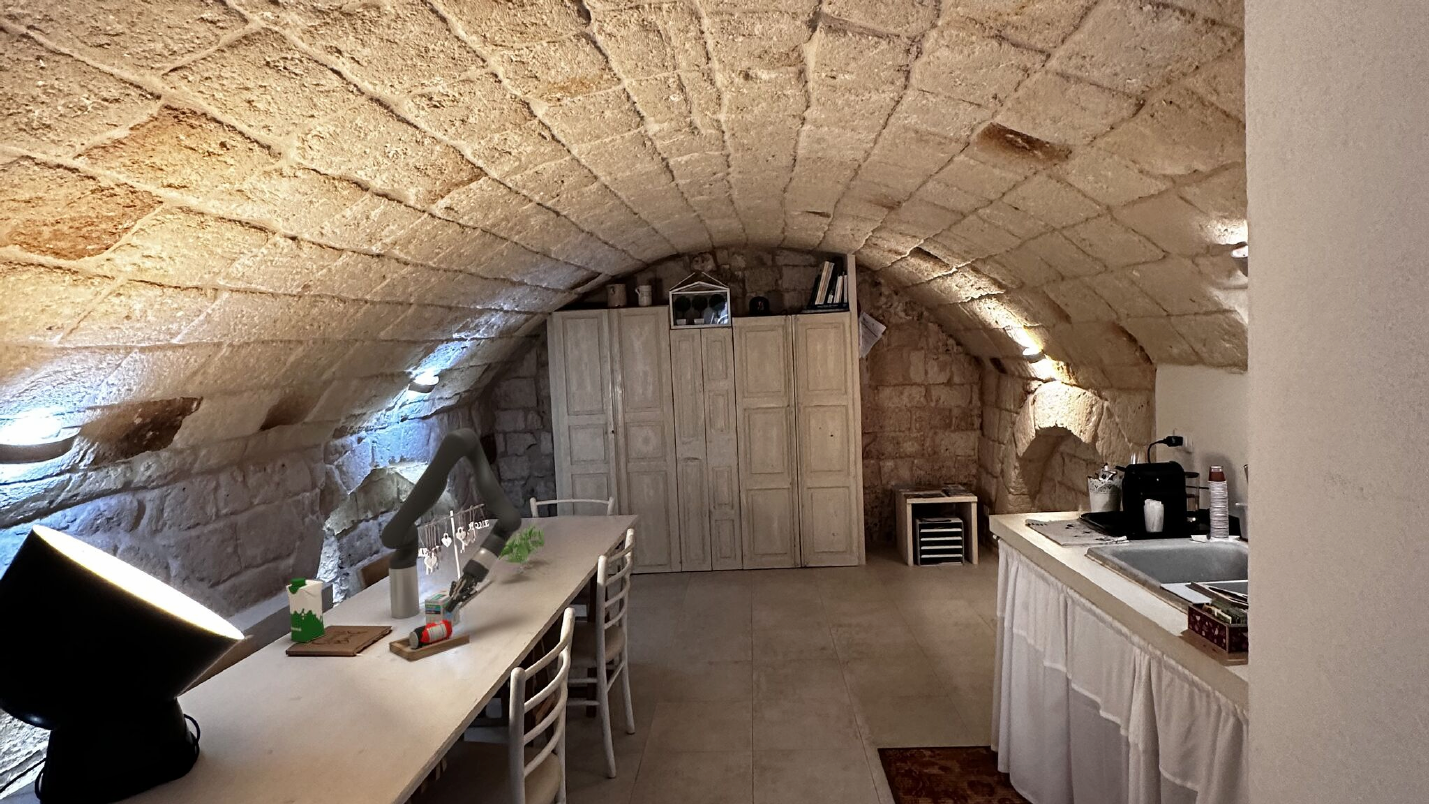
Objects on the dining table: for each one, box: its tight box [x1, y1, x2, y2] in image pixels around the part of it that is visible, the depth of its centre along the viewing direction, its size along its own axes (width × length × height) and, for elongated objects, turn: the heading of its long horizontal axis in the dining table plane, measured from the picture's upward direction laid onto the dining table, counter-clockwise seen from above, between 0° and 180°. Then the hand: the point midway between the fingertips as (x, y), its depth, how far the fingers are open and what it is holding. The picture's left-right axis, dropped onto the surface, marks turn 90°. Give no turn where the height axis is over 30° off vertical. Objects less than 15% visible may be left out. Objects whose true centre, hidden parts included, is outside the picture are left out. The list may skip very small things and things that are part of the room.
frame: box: [388, 633, 470, 662], centre depth 238 cm, size 14×19×2 cm
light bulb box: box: [424, 589, 461, 627], centre depth 256 cm, size 11×7×11 cm, turn 168°
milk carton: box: [285, 577, 326, 643], centre depth 249 cm, size 9×9×20 cm
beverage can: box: [408, 619, 453, 649], centre depth 240 cm, size 6×6×12 cm
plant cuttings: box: [498, 524, 562, 579], centre depth 316 cm, size 35×17×22 cm
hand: (447, 611), depth 242 cm, fingers closed
